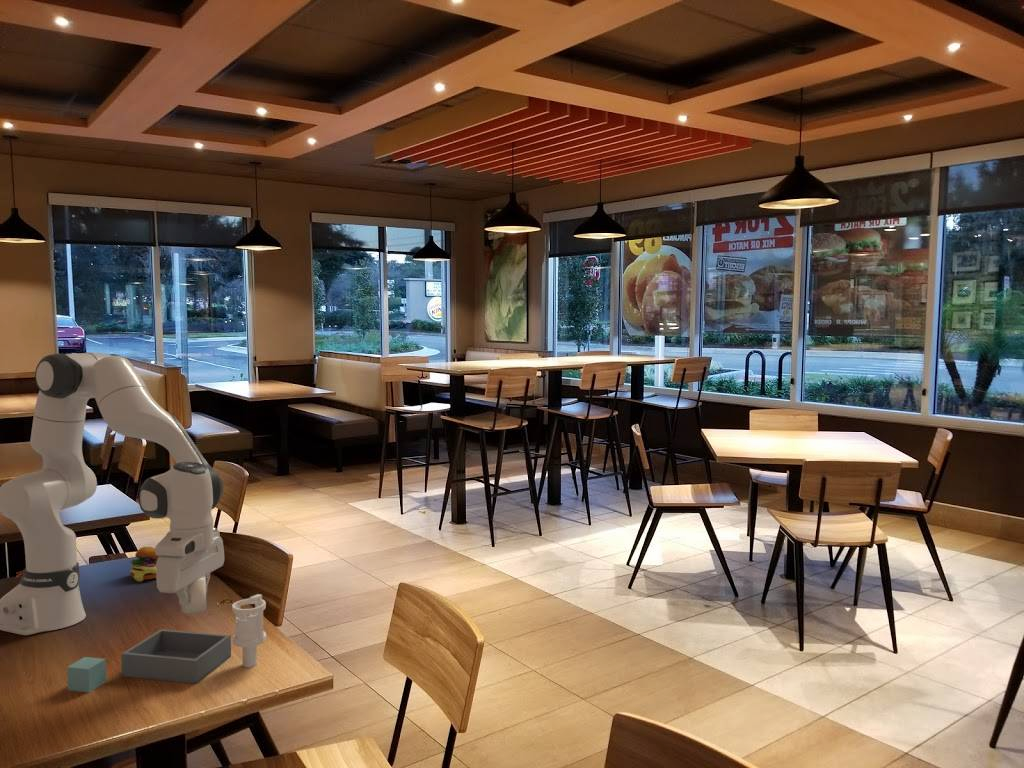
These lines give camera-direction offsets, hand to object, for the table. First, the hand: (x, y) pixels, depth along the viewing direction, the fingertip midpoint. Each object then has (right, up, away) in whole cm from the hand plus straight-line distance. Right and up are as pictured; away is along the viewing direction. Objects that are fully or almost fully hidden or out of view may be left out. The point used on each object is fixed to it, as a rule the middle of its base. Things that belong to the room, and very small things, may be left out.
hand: (193, 599), depth 169 cm
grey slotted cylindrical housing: (+11, -16, +3) cm, 20 cm away
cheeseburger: (-39, -11, +62) cm, 74 cm away
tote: (-4, -15, +2) cm, 16 cm away
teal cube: (-19, -16, -8) cm, 26 cm away
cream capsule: (0, -2, 0) cm, 2 cm away
